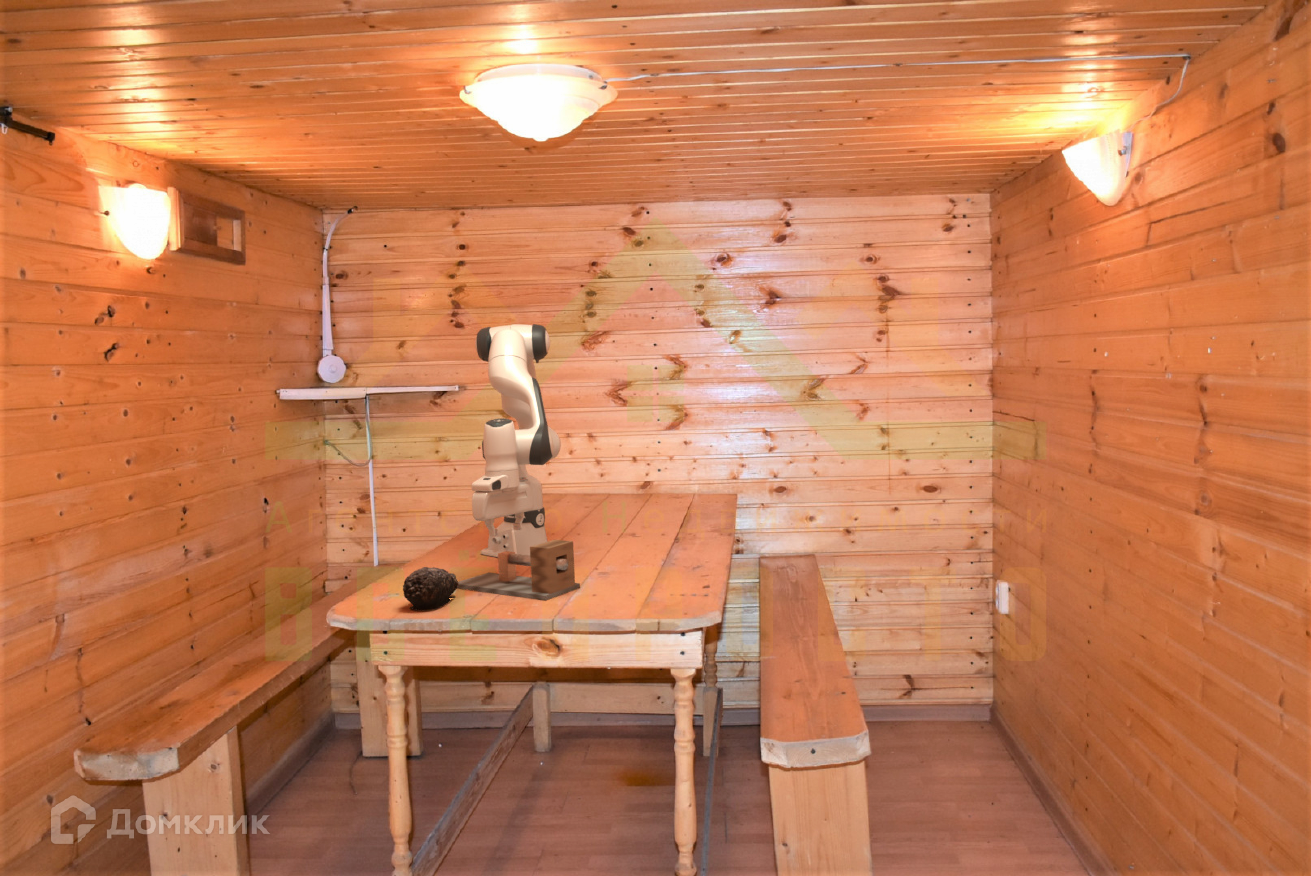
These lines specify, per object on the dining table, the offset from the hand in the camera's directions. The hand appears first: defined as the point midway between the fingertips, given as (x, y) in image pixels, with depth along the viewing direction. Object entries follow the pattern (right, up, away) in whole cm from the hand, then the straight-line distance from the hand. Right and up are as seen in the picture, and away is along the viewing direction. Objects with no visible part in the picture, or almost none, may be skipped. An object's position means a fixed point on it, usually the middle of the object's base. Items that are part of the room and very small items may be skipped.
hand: (505, 532), depth 245 cm
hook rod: (+8, -13, -4) cm, 15 cm away
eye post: (+3, -15, 0) cm, 15 cm away
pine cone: (-16, -17, -13) cm, 27 cm away
